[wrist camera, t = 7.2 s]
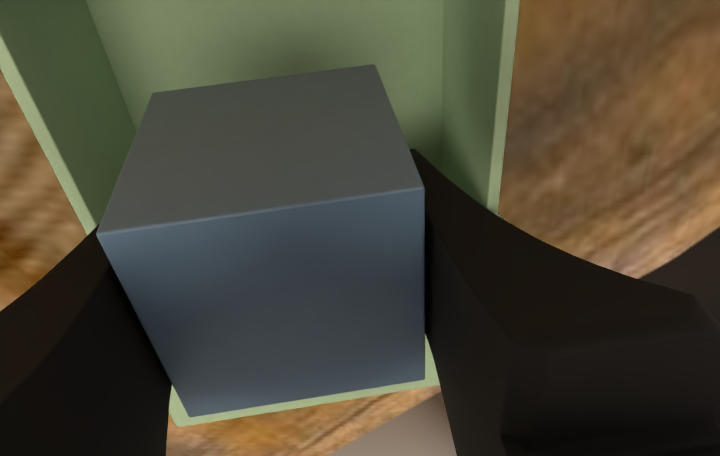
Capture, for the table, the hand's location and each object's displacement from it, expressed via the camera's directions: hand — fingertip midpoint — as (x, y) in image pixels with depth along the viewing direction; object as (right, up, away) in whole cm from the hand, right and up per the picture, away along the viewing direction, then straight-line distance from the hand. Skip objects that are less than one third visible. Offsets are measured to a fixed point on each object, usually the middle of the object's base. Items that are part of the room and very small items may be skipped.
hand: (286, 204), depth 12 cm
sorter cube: (0, +1, +1) cm, 1 cm away
